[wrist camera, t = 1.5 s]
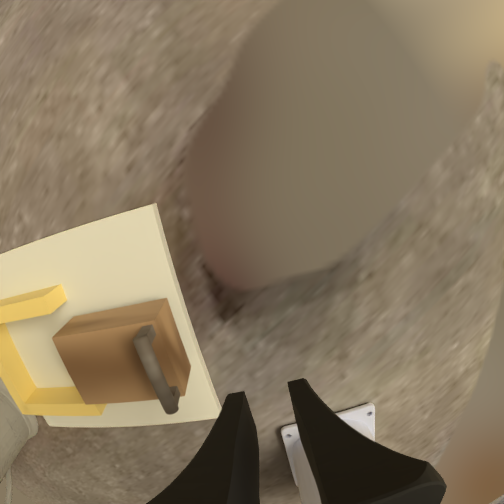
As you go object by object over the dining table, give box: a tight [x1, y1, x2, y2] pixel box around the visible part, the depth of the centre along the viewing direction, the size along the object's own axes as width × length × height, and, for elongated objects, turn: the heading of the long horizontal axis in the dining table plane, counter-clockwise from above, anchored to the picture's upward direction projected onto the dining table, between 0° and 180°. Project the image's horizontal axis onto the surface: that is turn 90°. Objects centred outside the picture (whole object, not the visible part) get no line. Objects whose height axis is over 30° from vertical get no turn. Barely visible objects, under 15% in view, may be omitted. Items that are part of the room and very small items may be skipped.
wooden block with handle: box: [52, 298, 191, 415], centre depth 17 cm, size 5×7×6 cm
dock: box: [0, 203, 222, 427], centre depth 19 cm, size 16×17×3 cm
